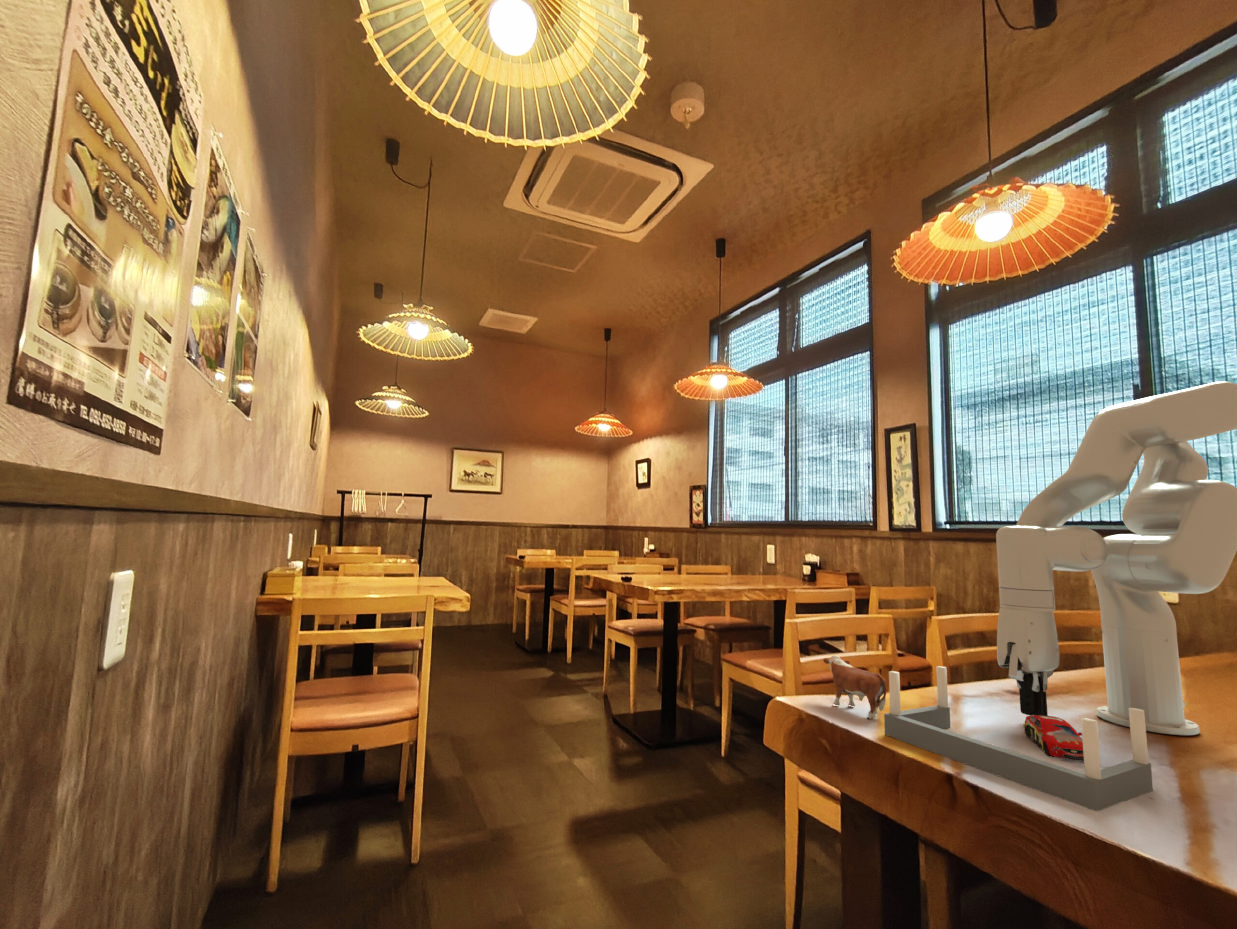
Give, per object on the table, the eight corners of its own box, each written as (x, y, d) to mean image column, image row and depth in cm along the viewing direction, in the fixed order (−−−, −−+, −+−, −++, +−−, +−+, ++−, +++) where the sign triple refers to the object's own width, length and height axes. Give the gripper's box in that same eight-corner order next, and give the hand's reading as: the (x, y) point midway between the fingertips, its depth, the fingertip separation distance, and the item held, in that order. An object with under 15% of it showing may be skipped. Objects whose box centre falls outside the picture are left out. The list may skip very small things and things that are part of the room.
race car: (1099, 769, 74) (1097, 737, 74) (1049, 762, 76) (1047, 731, 76) (1063, 738, 86) (1061, 711, 86) (1021, 732, 88) (1019, 705, 88)
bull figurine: (837, 698, 103) (836, 652, 104) (894, 721, 91) (892, 668, 92) (817, 699, 102) (816, 653, 103) (872, 723, 89) (871, 669, 90)
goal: (942, 724, 90) (939, 665, 91) (1153, 789, 67) (1146, 710, 68) (884, 734, 84) (883, 671, 85) (1096, 811, 61) (1090, 723, 62)
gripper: (1027, 597, 101) (1034, 704, 98) (976, 598, 94) (982, 713, 92) (1076, 601, 94) (1085, 716, 92) (1025, 603, 87) (1033, 727, 85)
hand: (1034, 714), depth 92 cm, fingers closed
